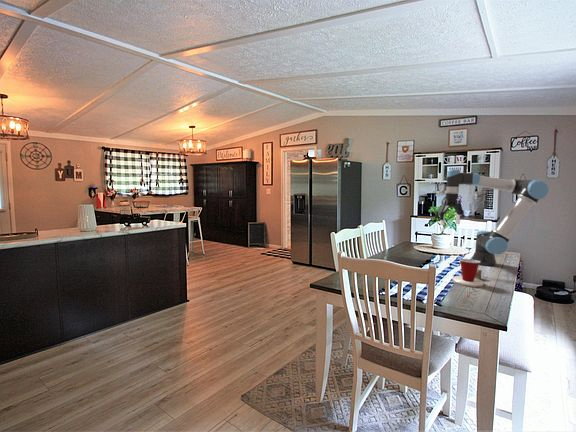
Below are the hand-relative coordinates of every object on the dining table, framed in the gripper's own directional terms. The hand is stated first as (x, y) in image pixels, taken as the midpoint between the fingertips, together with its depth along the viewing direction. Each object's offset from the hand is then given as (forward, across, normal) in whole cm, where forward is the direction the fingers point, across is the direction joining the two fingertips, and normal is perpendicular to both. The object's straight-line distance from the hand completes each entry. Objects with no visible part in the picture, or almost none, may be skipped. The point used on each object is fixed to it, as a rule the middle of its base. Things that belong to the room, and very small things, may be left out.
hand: (449, 224), depth 230 cm
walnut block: (+29, +6, +27) cm, 40 cm away
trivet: (+28, +19, +32) cm, 47 cm away
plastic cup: (+27, +19, +32) cm, 46 cm away
